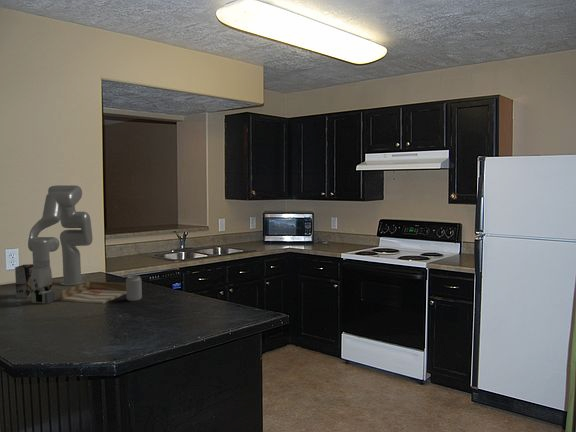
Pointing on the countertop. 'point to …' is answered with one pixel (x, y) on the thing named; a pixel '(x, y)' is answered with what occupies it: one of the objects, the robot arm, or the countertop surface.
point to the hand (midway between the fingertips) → (43, 300)
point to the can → (133, 288)
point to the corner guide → (93, 292)
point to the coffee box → (23, 281)
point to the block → (44, 297)
